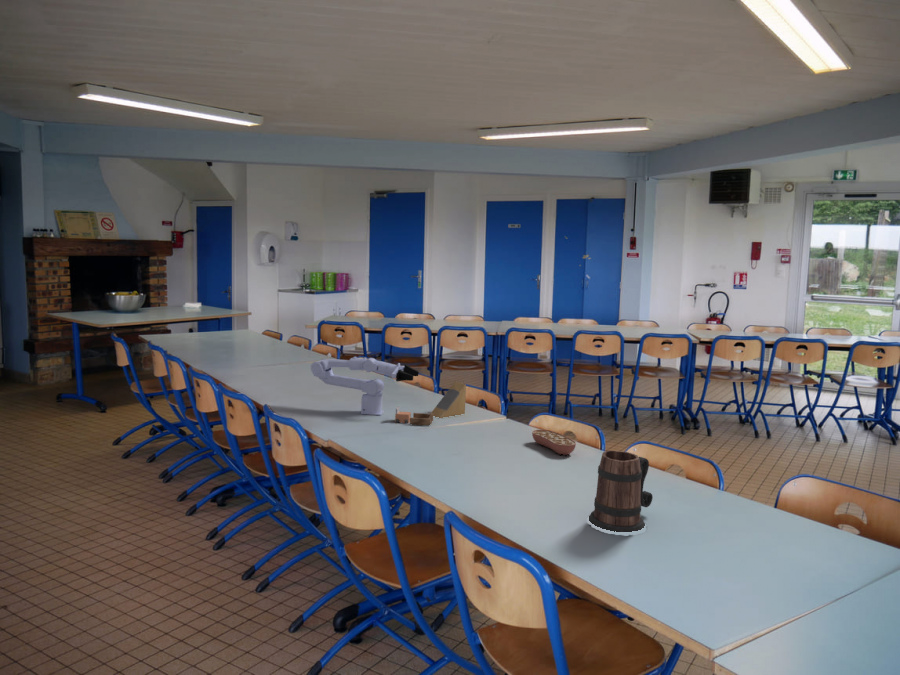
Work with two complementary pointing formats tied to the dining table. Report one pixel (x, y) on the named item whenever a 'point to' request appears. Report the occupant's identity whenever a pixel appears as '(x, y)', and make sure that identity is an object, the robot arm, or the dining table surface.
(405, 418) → the cart
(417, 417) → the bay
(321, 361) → the robot arm
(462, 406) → the sandwich container
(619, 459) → the tankard
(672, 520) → the dining table surface
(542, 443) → the brown bread loaf
